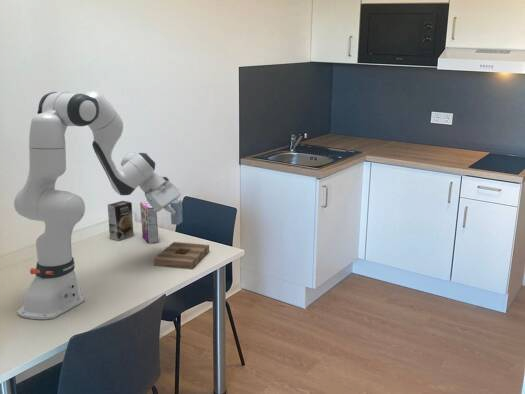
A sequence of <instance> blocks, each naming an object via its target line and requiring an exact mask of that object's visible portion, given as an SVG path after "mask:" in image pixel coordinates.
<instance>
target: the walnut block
mask: <svg viewBox="0 0 525 394" xmlns="http://www.w3.org/2000/svg"><path fill="white" fill-rule="evenodd" d="M209 252H210V244H206V243H205V244H203V243H202V244H201V243H194V242H193V243H192V242H181V241H180V242H178V241H173V242H171V244H170V245H168V246H167V247H166V248H165V249H163V251H161V252H160V253H159V254H158V255H157V256H155V257H154V258H153V262H154V263H153V264H154V266H155V267H156V266H157V267H167V268H176V269H185V270H187V269H189V270H193V269H194V268H195V267H196V266H197V265H198V264H199V263H200V262H201V261H202V260H203V259H204V258H205V256H207V255H208V254H209Z"/></svg>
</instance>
